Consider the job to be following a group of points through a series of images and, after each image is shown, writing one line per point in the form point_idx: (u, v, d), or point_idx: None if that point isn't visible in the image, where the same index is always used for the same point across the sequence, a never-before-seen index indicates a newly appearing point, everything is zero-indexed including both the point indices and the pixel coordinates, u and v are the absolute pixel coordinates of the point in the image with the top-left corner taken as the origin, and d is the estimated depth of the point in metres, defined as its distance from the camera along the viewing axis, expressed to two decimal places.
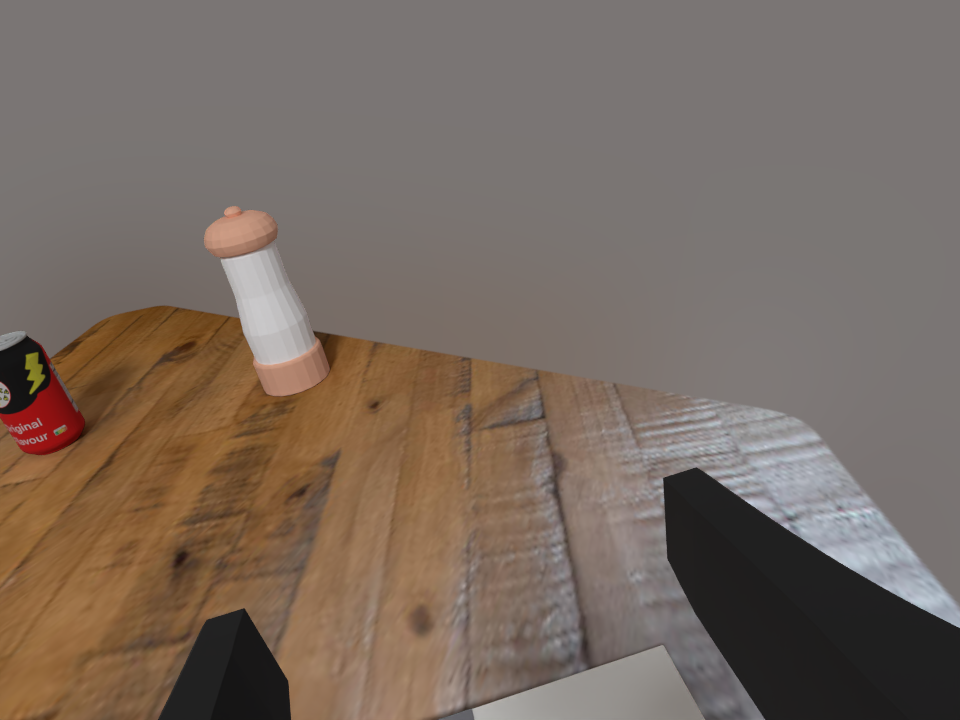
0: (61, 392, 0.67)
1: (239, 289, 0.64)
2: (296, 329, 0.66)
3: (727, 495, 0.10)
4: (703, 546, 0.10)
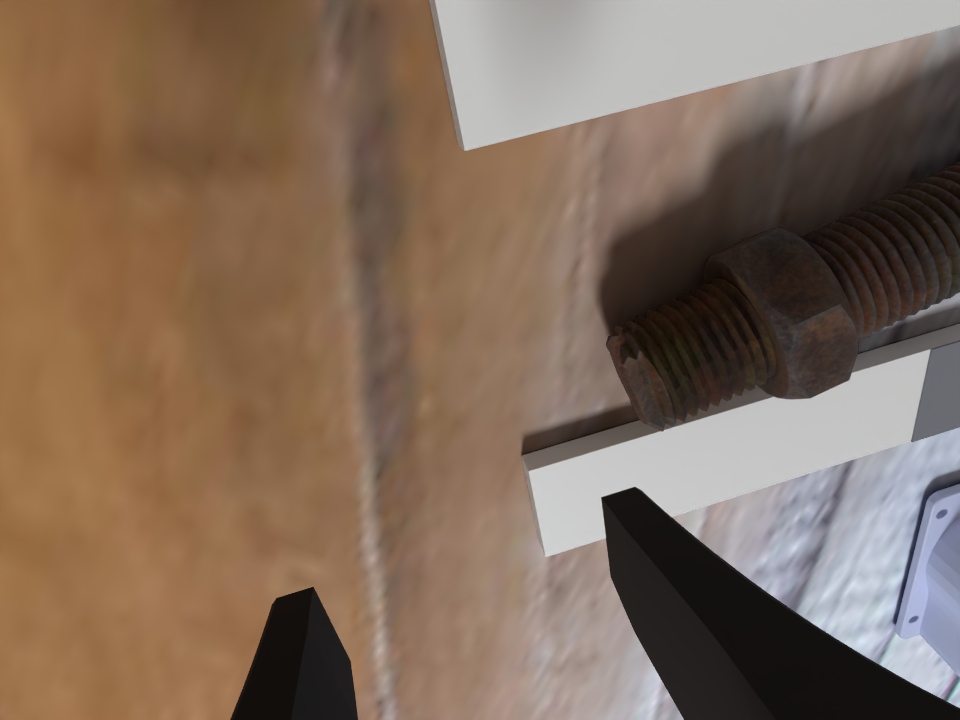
0: None
1: None
2: None
3: (659, 516, 0.10)
4: (635, 568, 0.10)
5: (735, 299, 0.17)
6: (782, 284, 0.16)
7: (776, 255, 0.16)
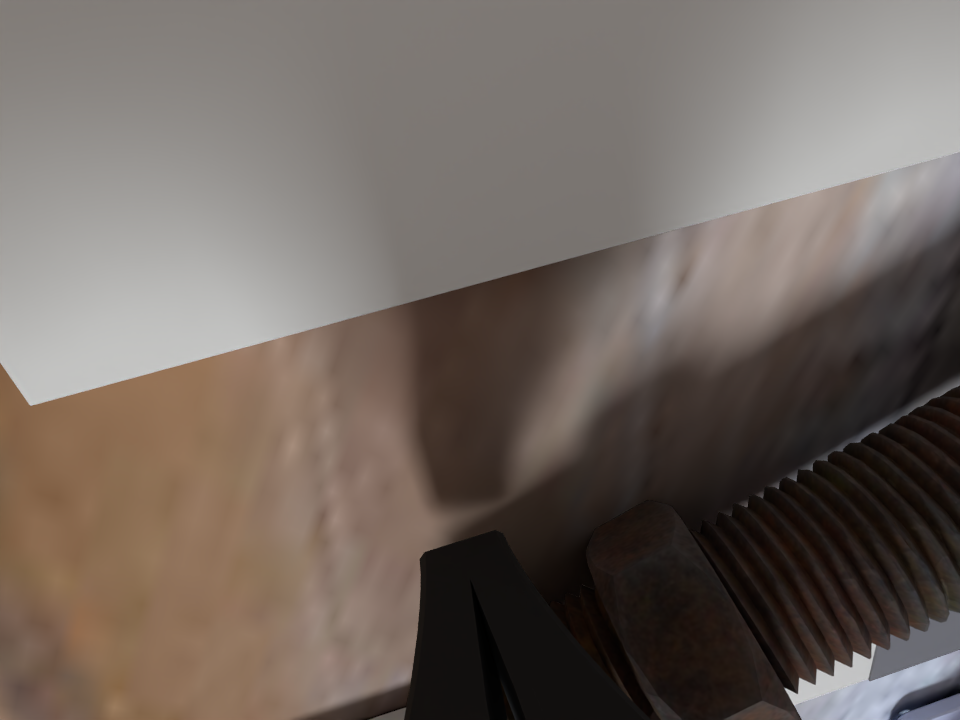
0: None
1: None
2: None
3: (506, 564, 0.10)
4: (482, 617, 0.10)
5: (615, 642, 0.11)
6: (673, 652, 0.10)
7: (665, 595, 0.11)
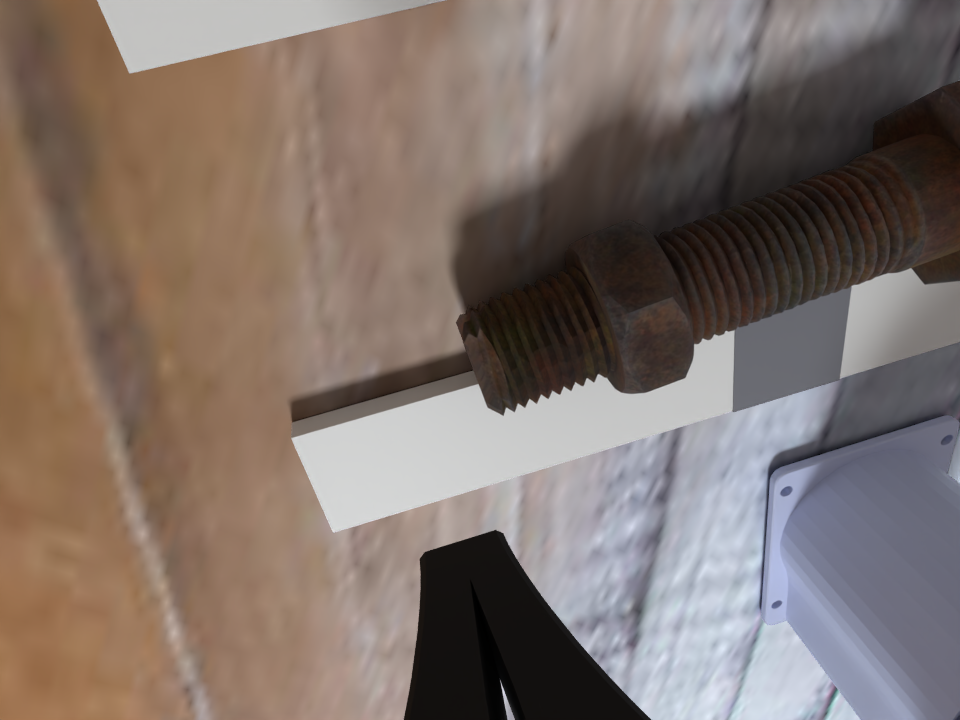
0: None
1: None
2: None
3: (507, 564, 0.10)
4: (482, 617, 0.10)
5: (581, 286, 0.17)
6: (621, 273, 0.16)
7: (621, 245, 0.16)
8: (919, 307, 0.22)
